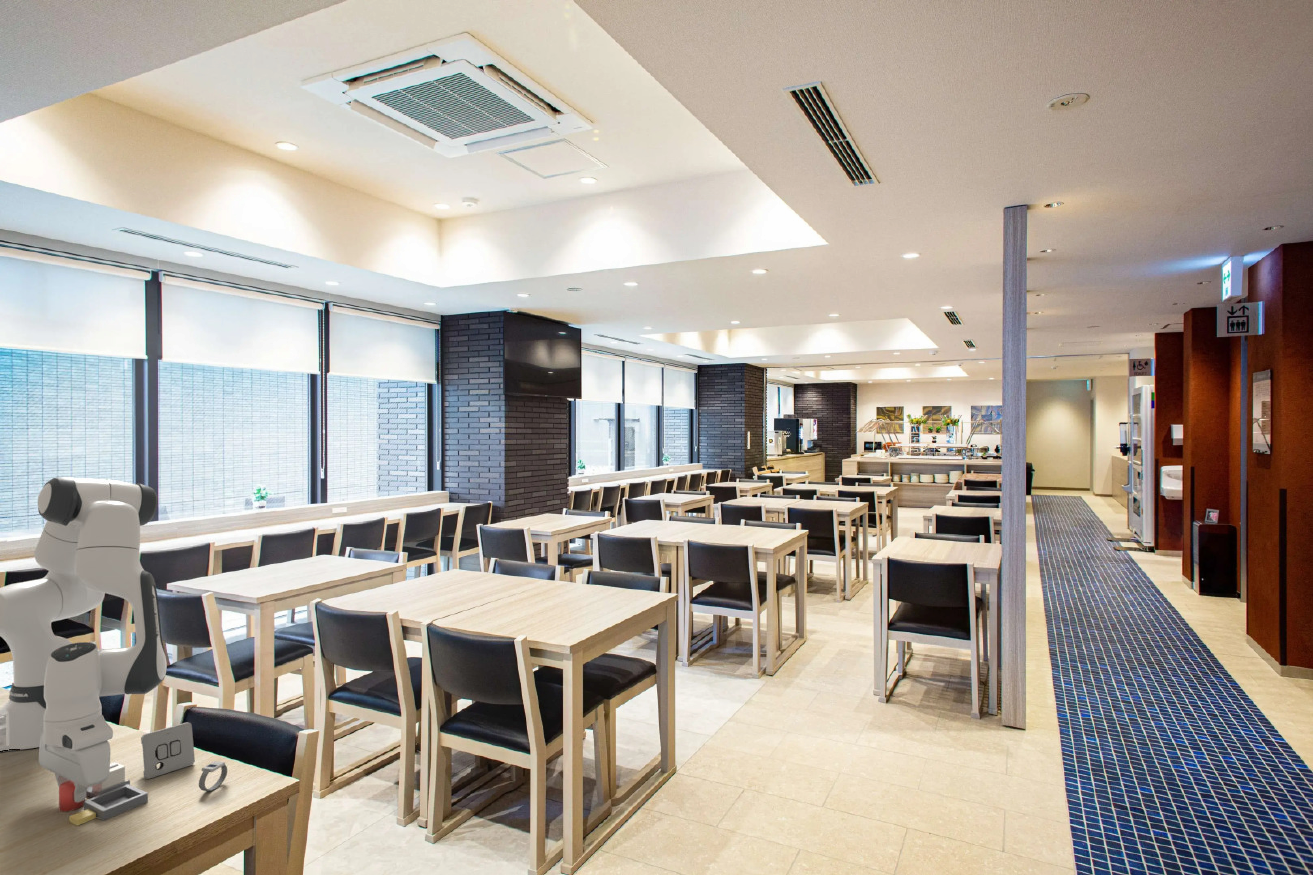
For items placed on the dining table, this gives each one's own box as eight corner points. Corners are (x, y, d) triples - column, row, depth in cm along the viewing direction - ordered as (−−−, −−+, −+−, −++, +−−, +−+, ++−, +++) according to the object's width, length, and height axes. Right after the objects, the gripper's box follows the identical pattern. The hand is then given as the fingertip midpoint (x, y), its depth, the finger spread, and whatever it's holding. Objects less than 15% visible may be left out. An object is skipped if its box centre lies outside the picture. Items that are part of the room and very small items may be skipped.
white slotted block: (92, 791, 140) (92, 769, 140) (114, 783, 143) (114, 761, 143) (102, 796, 138) (102, 773, 138) (124, 787, 141) (124, 765, 141)
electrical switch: (145, 781, 145) (144, 736, 146) (137, 776, 149) (137, 732, 149) (195, 765, 153) (194, 722, 153) (187, 760, 156) (186, 719, 157)
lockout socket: (63, 818, 131) (63, 809, 131) (127, 792, 140) (128, 783, 140) (83, 828, 127) (83, 819, 127) (147, 801, 137) (147, 792, 137)
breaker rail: (67, 786, 143) (67, 776, 143) (98, 774, 148) (98, 765, 148) (99, 801, 137) (99, 791, 137) (129, 789, 142) (129, 779, 142)
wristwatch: (219, 780, 146) (219, 757, 146) (230, 782, 145) (230, 758, 145) (195, 795, 140) (195, 771, 140) (206, 797, 139) (206, 772, 139)
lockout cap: (57, 806, 135) (57, 783, 135) (83, 798, 138) (83, 776, 138) (60, 813, 133) (60, 790, 133) (86, 805, 136) (86, 783, 136)
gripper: (28, 723, 138) (28, 791, 137) (78, 744, 128) (78, 817, 128) (67, 712, 143) (66, 778, 143) (117, 731, 134) (117, 801, 134)
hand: (72, 797), depth 135 cm, fingers closed on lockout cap, 4 cm apart
